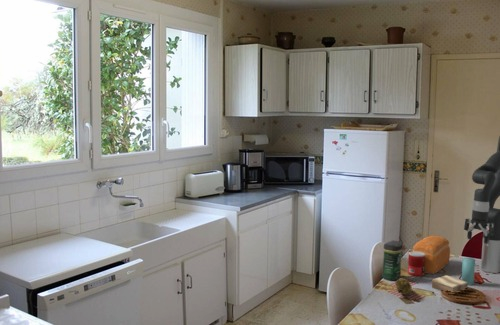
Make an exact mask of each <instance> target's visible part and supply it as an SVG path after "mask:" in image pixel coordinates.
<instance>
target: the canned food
mask: <svg viewBox="0 0 500 325" xmlns="http://www.w3.org/2000/svg"><path fill="white" fill-rule="evenodd" d="M407 260H408V261H407V262H408V263H407V273H408V275H409V276H412V277H423V276H424V275H425V273H424V268H425V254H424V253H422V252H417V251H413V250H412V251H409V252H408V259H407Z"/></svg>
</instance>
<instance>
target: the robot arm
mask: <svg viewBox="0 0 500 325" xmlns="http://www.w3.org/2000/svg"><path fill="white" fill-rule="evenodd" d="M471 180H472V181H473V183H474V184H478V185H483V187H482V188H476V189H475V190H474V198H473V204H472V211H471V219H470V218H465V219H464V225H463V230H465V231H467V235H466V238H467V240H469V241H470V240H472V236H473V230H478V231H481V232H483V233H482V245H481V246H482V248H481V260H480V261H481V262H480V270H481V271H482V272H485V273H492V274H498V273H500V208H497V207H496V208H495V207H494V206H495V203H496V201H497V200H498V198H499V197H500V135H499V137H498V140H497V149H496V152H495V153H493V154H492V155H491V156H490V157H489V158H488V159H487V161H486V162H485V163H484V164H482V165H481V166H479V167H478V168H476V169H475V170H474V171H473V173H472V174H471Z"/></svg>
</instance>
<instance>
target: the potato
mask: <svg viewBox="0 0 500 325" xmlns="http://www.w3.org/2000/svg"><path fill="white" fill-rule="evenodd" d="M394 285H395V288H396V290H397V292H398V293H399V294H402V295H407V296H408V295H410V294H411V293H412V290H413V288H412V284H411V283H410V281H409V280H407V279H405V278H401V277H400V278H399V279H397V280H395V282H394Z"/></svg>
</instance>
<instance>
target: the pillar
mask: <svg viewBox="0 0 500 325" xmlns="http://www.w3.org/2000/svg"><path fill="white" fill-rule="evenodd" d="M461 265H462V266H461V280H463V281H466V282H467V286H473V285H474V284H475V283H474V282H475V272H476V271H475V270H476V269H475V267H476V259H475V258H471V257H463V258H462V264H461Z"/></svg>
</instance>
